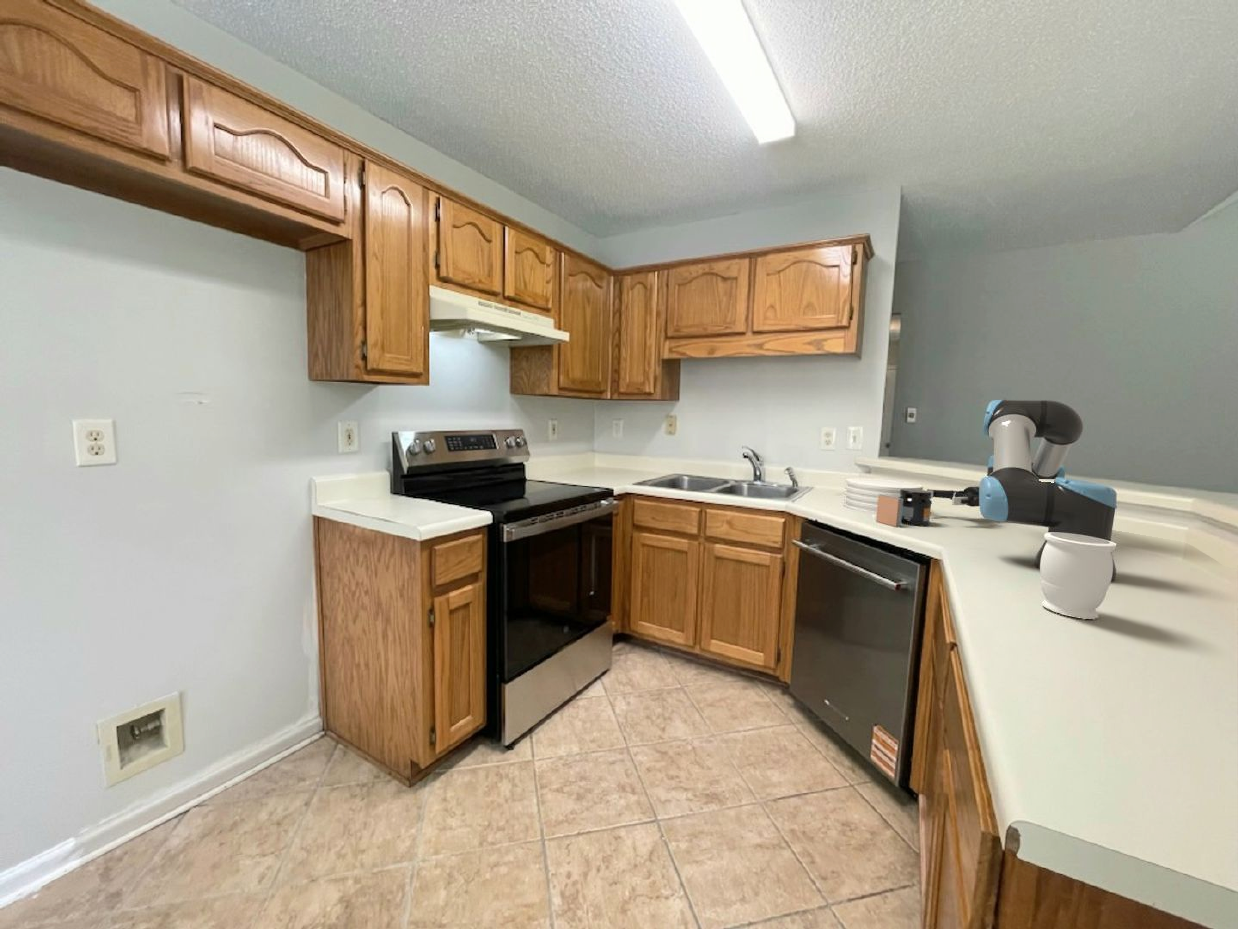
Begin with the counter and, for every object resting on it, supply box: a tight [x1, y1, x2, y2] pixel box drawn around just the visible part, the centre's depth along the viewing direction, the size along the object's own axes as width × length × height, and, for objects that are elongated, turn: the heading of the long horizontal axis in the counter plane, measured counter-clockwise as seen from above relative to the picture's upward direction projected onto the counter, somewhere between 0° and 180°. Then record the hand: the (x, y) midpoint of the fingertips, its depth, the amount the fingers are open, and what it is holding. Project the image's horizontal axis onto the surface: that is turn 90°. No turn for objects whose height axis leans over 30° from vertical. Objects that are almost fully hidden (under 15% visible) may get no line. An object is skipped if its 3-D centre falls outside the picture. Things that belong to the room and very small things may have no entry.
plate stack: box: [843, 477, 924, 516], centre depth 202 cm, size 28×28×12 cm
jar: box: [1039, 532, 1117, 620], centre depth 96 cm, size 11×10×15 cm
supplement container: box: [899, 489, 933, 527], centre depth 177 cm, size 10×10×12 cm
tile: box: [875, 494, 903, 528], centre depth 173 cm, size 2×9×10 cm, turn 17°
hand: (935, 497), depth 179 cm, fingers open, 13 cm apart
